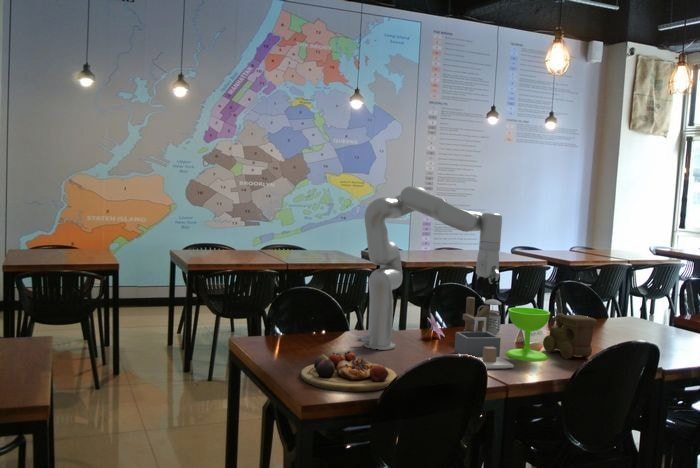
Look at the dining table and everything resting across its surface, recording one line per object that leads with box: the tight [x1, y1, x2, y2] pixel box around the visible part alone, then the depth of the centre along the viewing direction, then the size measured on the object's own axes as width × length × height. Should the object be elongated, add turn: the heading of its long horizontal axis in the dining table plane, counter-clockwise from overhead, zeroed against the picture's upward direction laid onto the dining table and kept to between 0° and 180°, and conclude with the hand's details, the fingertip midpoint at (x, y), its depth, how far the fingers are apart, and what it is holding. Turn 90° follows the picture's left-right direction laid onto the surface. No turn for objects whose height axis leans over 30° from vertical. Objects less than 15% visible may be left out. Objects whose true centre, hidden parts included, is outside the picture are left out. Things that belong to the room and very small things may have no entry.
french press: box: [476, 298, 502, 335], centre depth 292 cm, size 10×12×25 cm
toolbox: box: [454, 316, 501, 357], centre depth 249 cm, size 14×14×13 cm
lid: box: [477, 347, 515, 370], centre depth 233 cm, size 14×11×7 cm
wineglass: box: [505, 306, 551, 363], centre depth 249 cm, size 16×16×18 cm
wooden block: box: [462, 296, 491, 332], centre depth 279 cm, size 4×11×18 cm, turn 110°
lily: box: [424, 313, 445, 339], centre depth 277 cm, size 12×12×10 cm
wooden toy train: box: [542, 312, 598, 360], centre depth 254 cm, size 20×11×17 cm, turn 21°
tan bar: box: [462, 313, 484, 327], centre depth 264 cm, size 2×16×2 cm, turn 14°
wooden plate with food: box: [300, 350, 398, 393], centre depth 209 cm, size 32×32×8 cm
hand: (486, 292), depth 234 cm, fingers open, 9 cm apart
